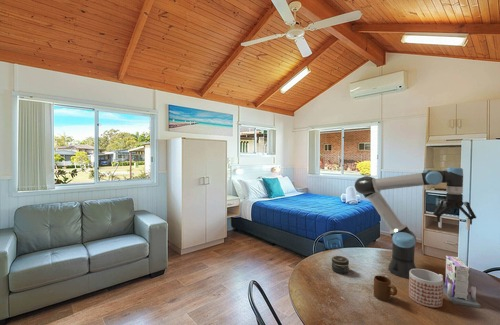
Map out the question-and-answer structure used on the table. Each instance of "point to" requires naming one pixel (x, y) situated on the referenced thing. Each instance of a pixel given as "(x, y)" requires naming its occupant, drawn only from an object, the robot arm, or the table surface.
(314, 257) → the table surface
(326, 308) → the table surface
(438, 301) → the planter
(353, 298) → the table surface
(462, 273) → the candy box
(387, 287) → the mug
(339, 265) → the jar
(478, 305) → the tray
